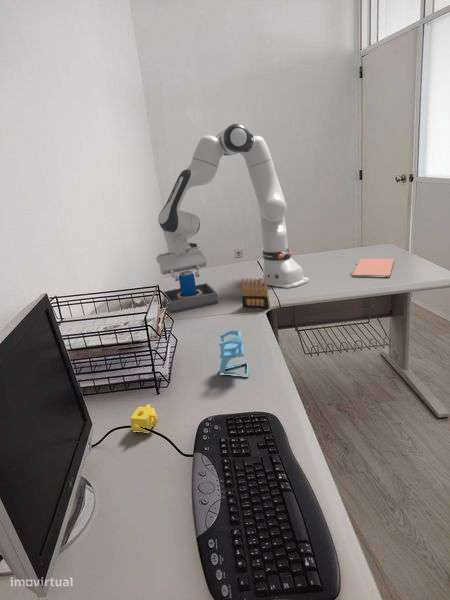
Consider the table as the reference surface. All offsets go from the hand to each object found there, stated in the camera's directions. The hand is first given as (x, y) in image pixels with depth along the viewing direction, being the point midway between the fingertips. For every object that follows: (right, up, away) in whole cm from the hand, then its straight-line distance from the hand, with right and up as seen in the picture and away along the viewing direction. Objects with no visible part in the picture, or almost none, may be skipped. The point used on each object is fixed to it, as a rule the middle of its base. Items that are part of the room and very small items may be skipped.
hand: (187, 278), depth 169 cm
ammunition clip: (+28, -12, -10) cm, 32 cm away
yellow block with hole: (-2, -39, -75) cm, 85 cm away
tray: (+1, -10, +4) cm, 11 cm away
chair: (+18, -30, -54) cm, 65 cm away
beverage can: (+1, -9, +4) cm, 10 cm away
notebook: (+85, +5, +21) cm, 87 cm away
